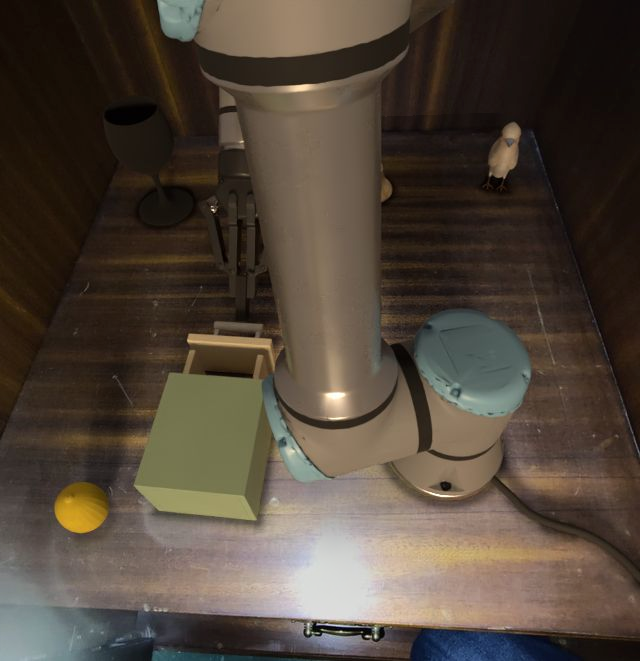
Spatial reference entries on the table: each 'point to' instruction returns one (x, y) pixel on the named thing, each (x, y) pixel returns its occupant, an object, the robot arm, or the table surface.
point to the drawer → (231, 351)
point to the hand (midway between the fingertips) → (242, 319)
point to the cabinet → (207, 447)
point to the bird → (504, 153)
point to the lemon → (81, 507)
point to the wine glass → (146, 154)
